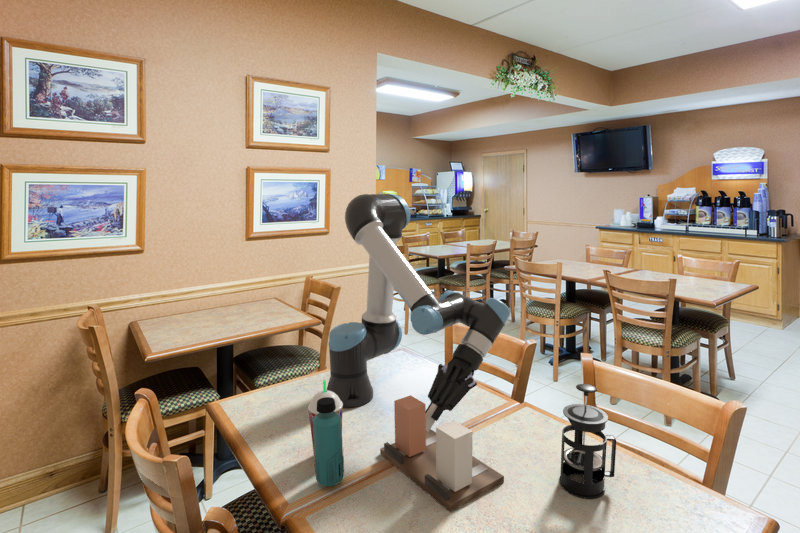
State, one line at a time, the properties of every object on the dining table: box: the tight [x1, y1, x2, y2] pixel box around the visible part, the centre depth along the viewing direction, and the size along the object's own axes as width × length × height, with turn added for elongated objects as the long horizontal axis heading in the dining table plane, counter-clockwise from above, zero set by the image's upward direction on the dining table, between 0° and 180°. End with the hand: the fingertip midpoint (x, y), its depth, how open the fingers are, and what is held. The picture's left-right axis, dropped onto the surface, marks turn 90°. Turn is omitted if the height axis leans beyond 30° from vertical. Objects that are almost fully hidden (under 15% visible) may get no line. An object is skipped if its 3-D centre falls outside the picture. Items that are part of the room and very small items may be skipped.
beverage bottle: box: [312, 397, 345, 487], centre depth 99 cm, size 6×7×20 cm
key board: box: [379, 428, 505, 513], centre depth 106 cm, size 16×26×4 cm, turn 35°
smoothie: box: [307, 379, 344, 457], centre depth 109 cm, size 8×8×20 cm
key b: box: [393, 395, 427, 457], centre depth 110 cm, size 5×6×12 cm
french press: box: [558, 383, 617, 500], centre depth 97 cm, size 12×9×23 cm
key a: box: [435, 420, 473, 492], centre depth 97 cm, size 5×6×12 cm
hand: (423, 428), depth 112 cm, fingers closed
